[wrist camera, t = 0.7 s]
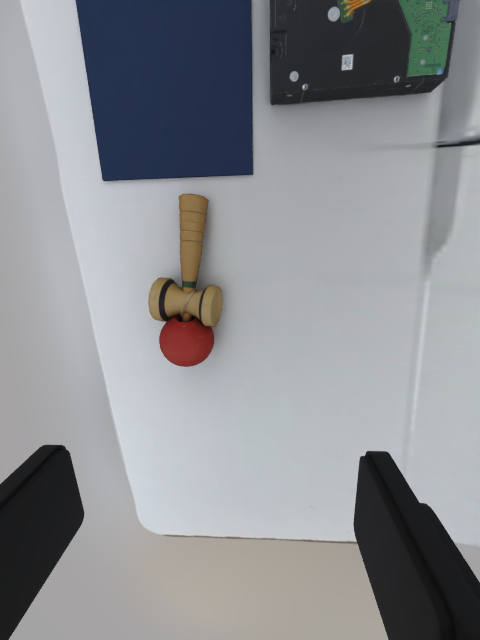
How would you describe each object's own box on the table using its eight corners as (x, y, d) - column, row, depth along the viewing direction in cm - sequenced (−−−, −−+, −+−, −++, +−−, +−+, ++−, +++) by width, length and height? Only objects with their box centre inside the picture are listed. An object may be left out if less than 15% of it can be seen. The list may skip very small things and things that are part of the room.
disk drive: (270, 110, 27) (431, 94, 25) (270, 96, 24) (451, 77, 23) (267, -30, 24) (450, -57, 22) (268, -64, 21) (475, -97, 20)
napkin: (66, -73, 24) (64, -77, 24) (250, -94, 23) (250, -99, 22) (104, 180, 30) (102, 180, 29) (252, 174, 28) (252, 173, 28)
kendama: (158, 201, 31) (154, 356, 34) (146, 184, 25) (142, 374, 28) (227, 209, 32) (217, 358, 35) (232, 193, 26) (220, 376, 29)
